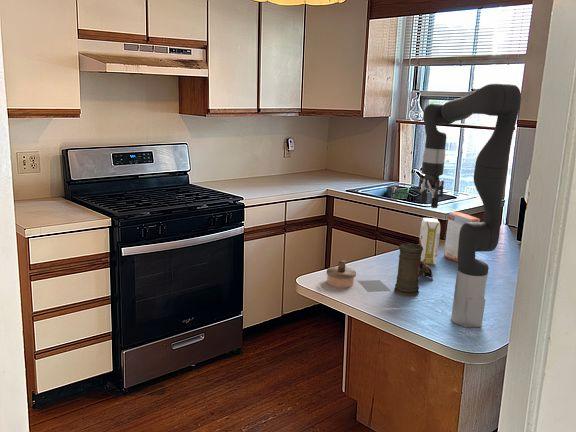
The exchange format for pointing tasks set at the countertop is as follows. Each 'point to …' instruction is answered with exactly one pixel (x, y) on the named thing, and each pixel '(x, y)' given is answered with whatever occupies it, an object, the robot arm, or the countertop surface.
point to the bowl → (340, 282)
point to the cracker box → (455, 233)
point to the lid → (341, 271)
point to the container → (408, 269)
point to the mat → (374, 285)
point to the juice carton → (429, 240)
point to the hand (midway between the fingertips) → (428, 205)
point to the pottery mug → (425, 270)
